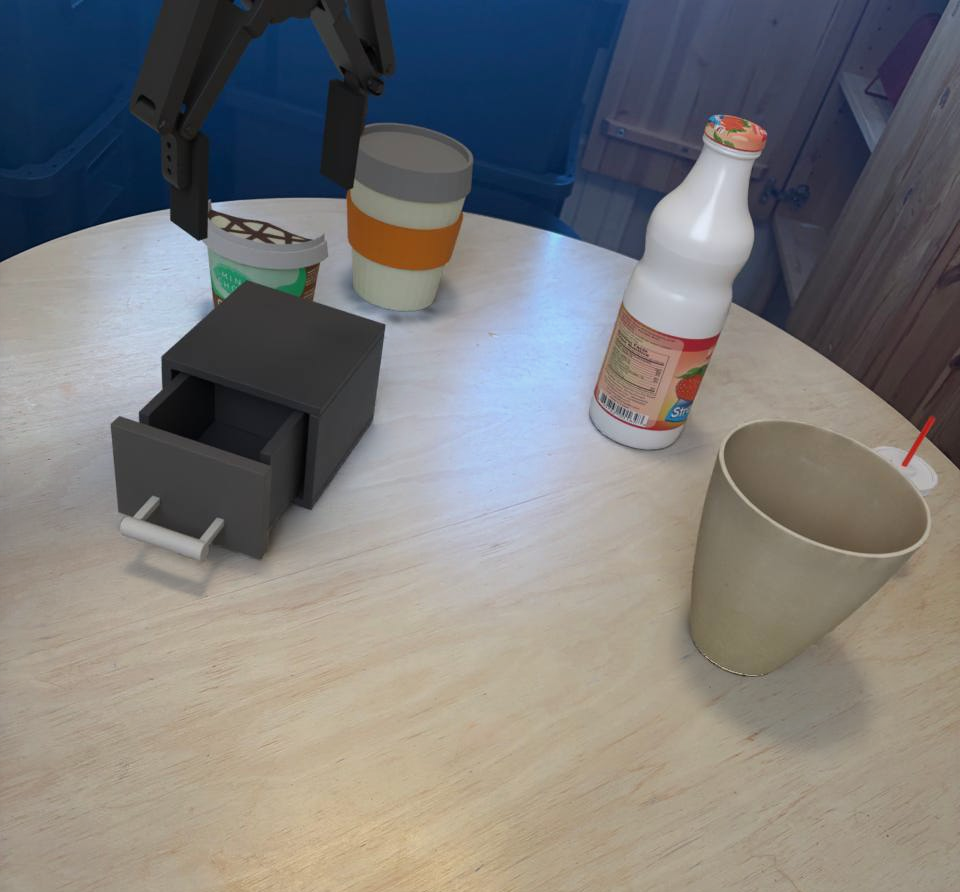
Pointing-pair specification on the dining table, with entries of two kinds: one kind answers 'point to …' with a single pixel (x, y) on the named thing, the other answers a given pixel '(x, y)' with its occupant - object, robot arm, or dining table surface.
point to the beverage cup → (913, 462)
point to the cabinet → (291, 368)
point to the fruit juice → (679, 292)
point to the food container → (260, 256)
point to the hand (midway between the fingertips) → (267, 204)
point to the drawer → (207, 468)
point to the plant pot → (795, 540)
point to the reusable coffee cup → (405, 212)
